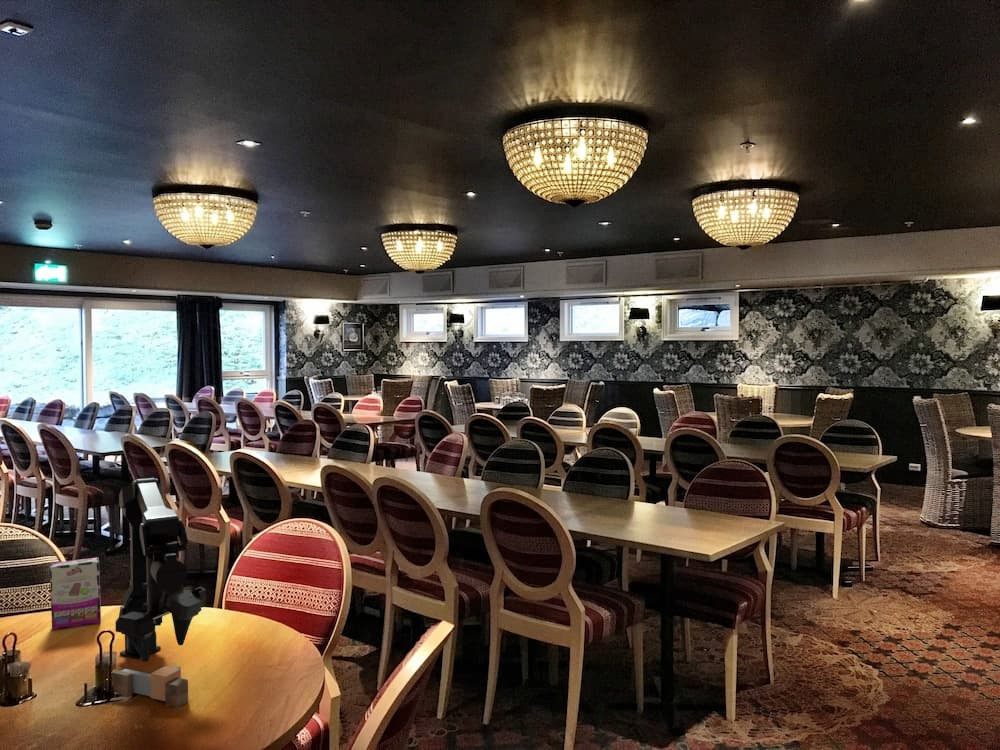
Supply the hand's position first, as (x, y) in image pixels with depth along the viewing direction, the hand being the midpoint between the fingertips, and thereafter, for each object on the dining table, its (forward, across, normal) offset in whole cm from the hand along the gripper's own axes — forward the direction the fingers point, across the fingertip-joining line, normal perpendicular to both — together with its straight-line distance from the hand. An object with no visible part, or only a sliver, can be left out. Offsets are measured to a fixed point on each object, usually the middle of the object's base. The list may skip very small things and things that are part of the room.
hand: (163, 653), depth 157 cm
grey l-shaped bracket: (+9, +3, +6) cm, 12 cm away
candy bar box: (+10, +24, +54) cm, 60 cm away
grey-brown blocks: (+9, -1, +5) cm, 11 cm away
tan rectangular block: (+9, 0, 0) cm, 9 cm away
